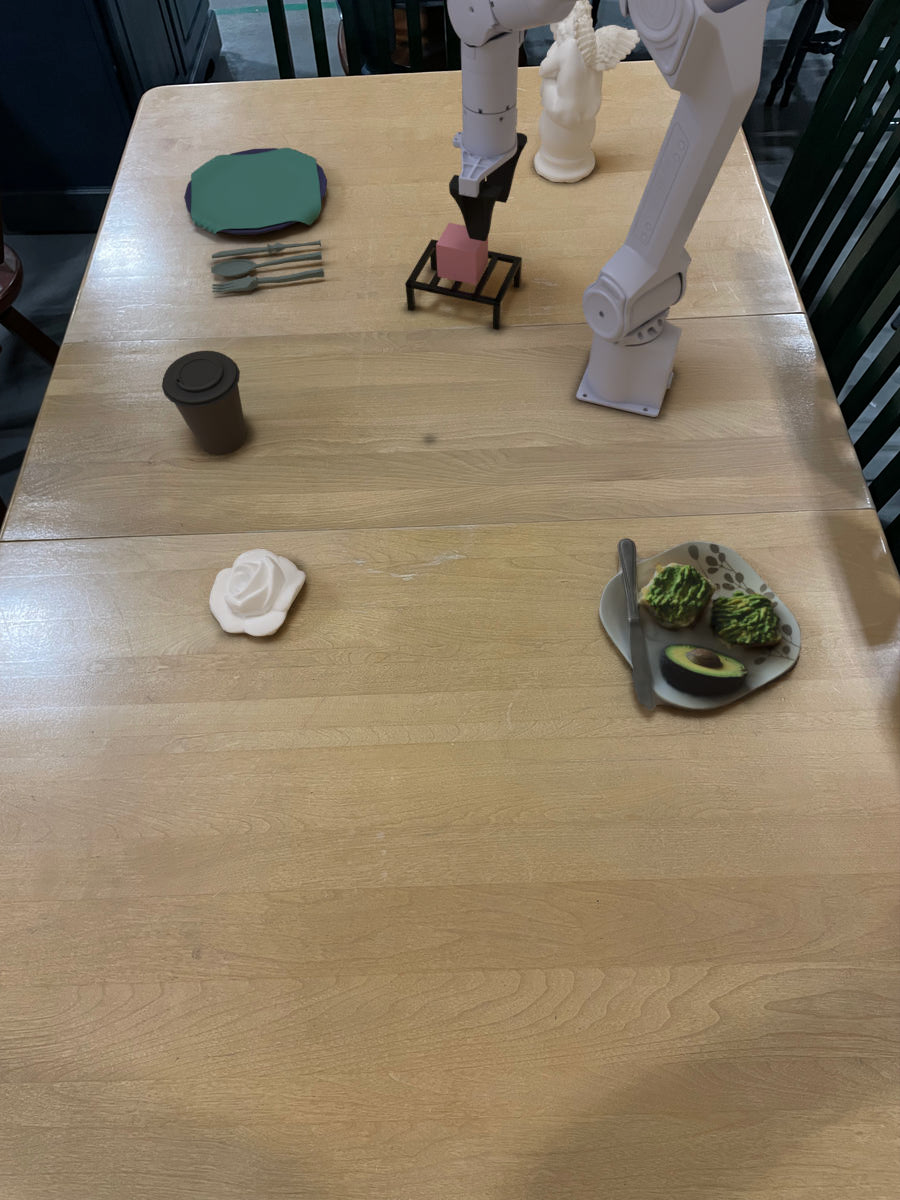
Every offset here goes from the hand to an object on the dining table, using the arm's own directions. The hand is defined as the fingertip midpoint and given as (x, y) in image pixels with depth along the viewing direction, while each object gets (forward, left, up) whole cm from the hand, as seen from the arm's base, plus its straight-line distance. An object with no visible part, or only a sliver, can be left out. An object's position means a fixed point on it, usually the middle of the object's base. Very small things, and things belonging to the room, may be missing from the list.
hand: (488, 218), depth 100 cm
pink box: (+2, +3, -6) cm, 7 cm away
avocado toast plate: (-35, +42, -10) cm, 55 cm away
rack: (+2, +3, -10) cm, 10 cm away
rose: (+6, +52, -10) cm, 53 cm away
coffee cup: (+20, +34, -10) cm, 40 cm away
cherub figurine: (-4, -28, -10) cm, 30 cm away
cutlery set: (+34, -3, -10) cm, 36 cm away
